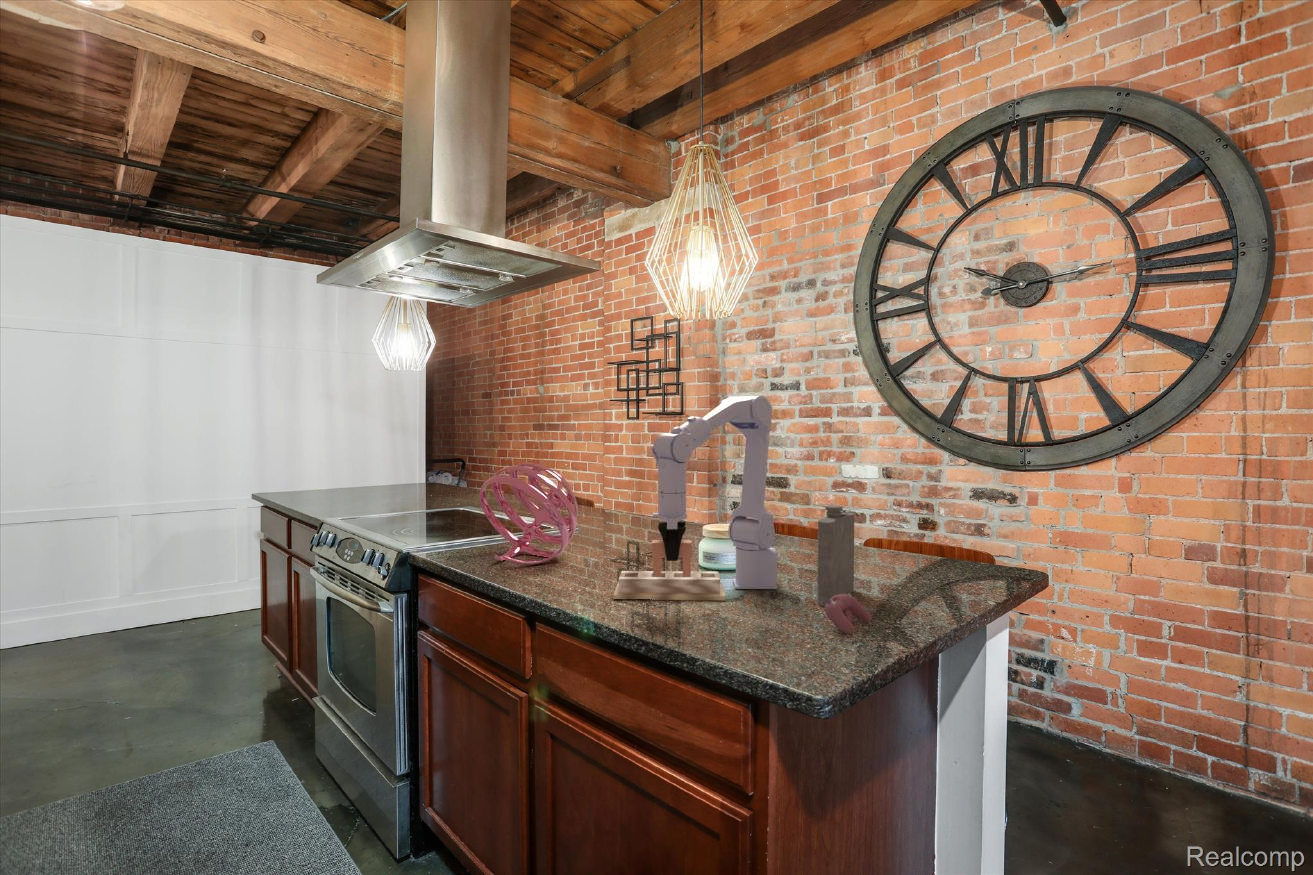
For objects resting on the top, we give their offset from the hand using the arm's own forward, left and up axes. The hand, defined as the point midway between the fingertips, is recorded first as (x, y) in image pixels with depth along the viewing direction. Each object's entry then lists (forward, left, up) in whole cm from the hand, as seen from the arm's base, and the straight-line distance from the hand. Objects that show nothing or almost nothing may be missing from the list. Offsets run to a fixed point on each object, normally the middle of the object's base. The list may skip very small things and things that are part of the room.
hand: (672, 558), depth 131 cm
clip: (0, 0, -4) cm, 4 cm away
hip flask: (-35, -9, -11) cm, 38 cm away
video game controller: (-33, +10, -11) cm, 36 cm away
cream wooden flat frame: (+1, -11, -10) cm, 15 cm away
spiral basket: (+39, -43, -11) cm, 59 cm away
